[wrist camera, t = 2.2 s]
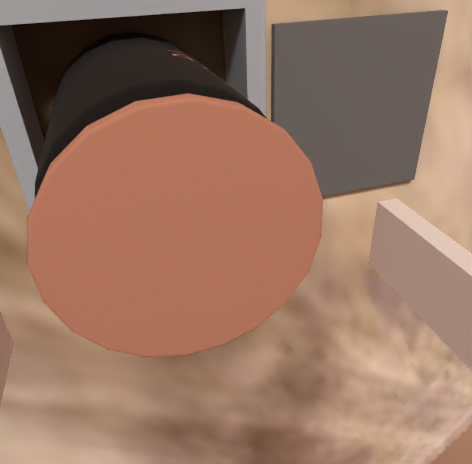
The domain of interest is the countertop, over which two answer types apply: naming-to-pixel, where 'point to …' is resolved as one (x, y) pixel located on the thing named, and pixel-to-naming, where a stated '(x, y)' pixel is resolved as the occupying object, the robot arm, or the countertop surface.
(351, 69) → the pad
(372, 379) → the countertop surface
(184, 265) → the coffee jar
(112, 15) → the pocket frame
